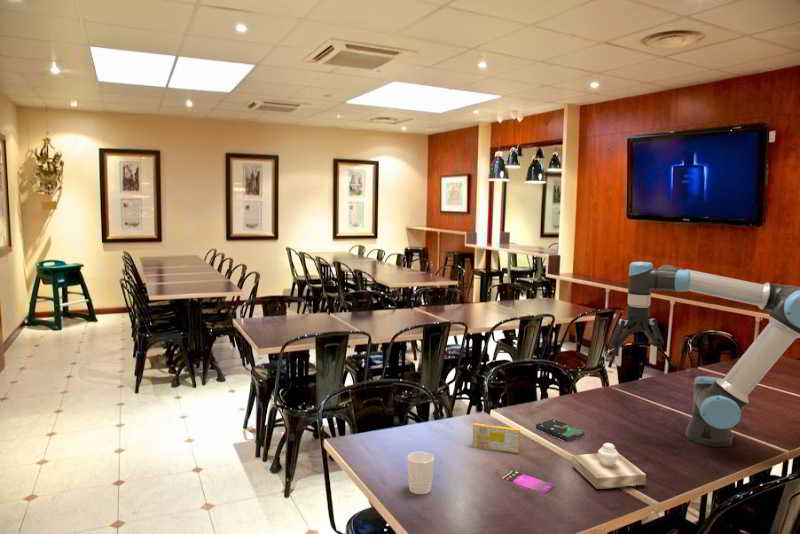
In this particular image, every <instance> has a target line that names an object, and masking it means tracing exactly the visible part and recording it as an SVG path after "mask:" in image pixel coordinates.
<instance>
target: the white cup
mask: <svg viewBox="0 0 800 534" xmlns="http://www.w3.org/2000/svg"><path fill="white" fill-rule="evenodd" d="M406 459H407V461H406V462H407V480H408V481H407V482H408V491H409V492H411V493H412V494H415V495H426V494H428V493H430V492H431V491H432V489H433V488H432V487H433V486H432V485H433V478H434V476H433V475H434V465H435V463H434V462H435V457H434V455H433V454H432V453H429V452H427V451H413V452H411V453H409V454H408V455H407V457H406Z"/></svg>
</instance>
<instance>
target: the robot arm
mask: <svg viewBox="0 0 800 534" xmlns="http://www.w3.org/2000/svg"><path fill="white" fill-rule="evenodd" d="M628 269H629V272H628V280H627V283H628V287H627V304H628V305H627V307H626V319H622V318H618V320H617V325H616V326H615V329H614V331H613V333H612V335H611V337H610V339H609V341H608V345H610V346H612V347H613V351H612V353H613V356H614V365H616V366H618V367H621V366H622V353H623V352H622V351H623V348H622V347H621V346H622V345H623V343H624V342H625V341H626V340H627V339H628V337H629V336H630V335H631V334H632V333H638V332H640V333H644V334H645V336H646V338H648V340H649V341H650V343H652V344H650V347H649V348H650V349H649V364H651V365H657V356H658V355H659V348H660V347H661V346H662V345H664V344H665V341H664V338H663V336H662V333H661V331H660V328H659V325H658V319H657V318H653V317H651V318H650V315H651V314H650V313H651V307H650V306H651V303H652V302H651V301H652V300H651V298H652V290H654V291H667V292H668V291H670V292H677V293H678V292H679V293H680V292H688V291H689V292H694V293H698V294H702V295H707V296H711V297H717V298H722V299H724V300H725V299H726V300H730V301H735V302H739V303H744V304H749V305H754V306H757V307H758V308H759V309H760V310H762V311H763V310H764V311H768V312H770V313H769V314H768V315H767V316H768V321H769V322H768V324H767V325H766V326H765V327H764V329H763V330H762V331H761V333H760V334H759V335H758V336H757V337H756V339H755V340H754V341H753V342H752V343H751V345H749V347H748V348H747V349H746V351H745V352H744V353H743V354H742V355H741V357H740V358H739V359H738V361H737V362H736V363H735V364H734V365H733V367H732V368H731V369H730V370H729V371H728V372H727V374H726V375H725V376H724V378H723V377H722V378H721V377H715V376H705V375H704V376H703V375H702V376H696V377H695V378H694V382H693V401H692V411H691V412H692V414H691V418H690V419H689V422H688V425H687V426H686V429H685V437H686V438H687V439H688V440H689V441H692V442H694V443H697V444H699V445H703V446H707V447H714V448H725V447H730V446H732V445H733V434H732V430H731V428H733V427H735V426H736V425H737V424H739V422H740V420H741V416H742V411H743V410H744V408H745V407H747V405H748V403H749V395H750V393H751V392H752V391H753V390H754V388H756V386H757V385H758V384H759V382H760V381H762V379H763V378H764V377H765V376H766V374H767V373H768V372H769V370H771V368H772V367H773V366H774V364H776V363H777V362H778V360H779V359H780V358H781V357H782V356H783V354H784V353H785V352H786V351H787V349H788V348H789V347H790V346H791V344H792V343H793V342H794V341H795V340H797V339H799V338H800V286H798V285H787V284H779V283H772V282H765V283H763V284H761V283H757V282H754V281H753V282H752V281H746V280H743V279H742V280H741V279H736V278H732V277H727V276H722V275H717V274H712V273H707V272H702V271H698V270H692V269H688V268H686V269H685V268H682V267H677V266H674V265H672V264H665V265H662V266H660V267H659V268H655V267H654V265H653V263H652V262H649V261H648V262H647V261H646V262H645V261H632V262H631V263H630V264H629V268H628ZM649 325H650V327H651V330H652V332H653V333H652V332H651V330H650V328H649Z"/></svg>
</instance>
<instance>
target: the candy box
mask: <svg viewBox="0 0 800 534" xmlns="http://www.w3.org/2000/svg"><path fill="white" fill-rule="evenodd" d="M520 431H521V429H520V428H515V427H506V426H499V425H491V424H482V423H475V422H473V424H472V442H471V443H472V448H478V449H485V450H491V451H492V450H493V451H498V452H499V451H500V452H506V453H512V454H513V453H514V454H519V453H520Z"/></svg>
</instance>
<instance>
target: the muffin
mask: <svg viewBox="0 0 800 534" xmlns="http://www.w3.org/2000/svg"><path fill="white" fill-rule="evenodd" d="M618 453H619V452H618V450H617V449H616V446H615V445H614V444H613V443H610V442H605V443H603V445H602V446H601V448H599V449H598V451H597V454H599V457H600V460H601V462H602V464H603V465H605V466H608V467H611V466H613V465H614V464H615V462H616V461H617V459H618V457H619V454H620V453H619V454H618Z"/></svg>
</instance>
